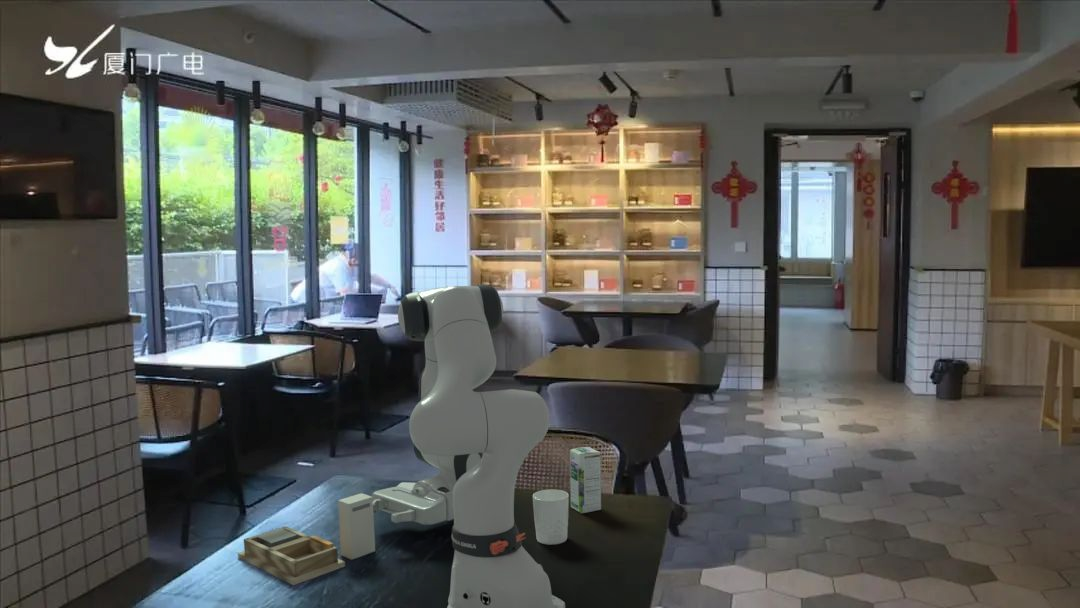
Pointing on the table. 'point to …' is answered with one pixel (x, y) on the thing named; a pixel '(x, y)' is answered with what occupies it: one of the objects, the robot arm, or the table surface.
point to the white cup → (551, 516)
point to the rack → (291, 555)
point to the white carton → (356, 526)
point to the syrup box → (585, 479)
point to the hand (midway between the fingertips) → (379, 514)
